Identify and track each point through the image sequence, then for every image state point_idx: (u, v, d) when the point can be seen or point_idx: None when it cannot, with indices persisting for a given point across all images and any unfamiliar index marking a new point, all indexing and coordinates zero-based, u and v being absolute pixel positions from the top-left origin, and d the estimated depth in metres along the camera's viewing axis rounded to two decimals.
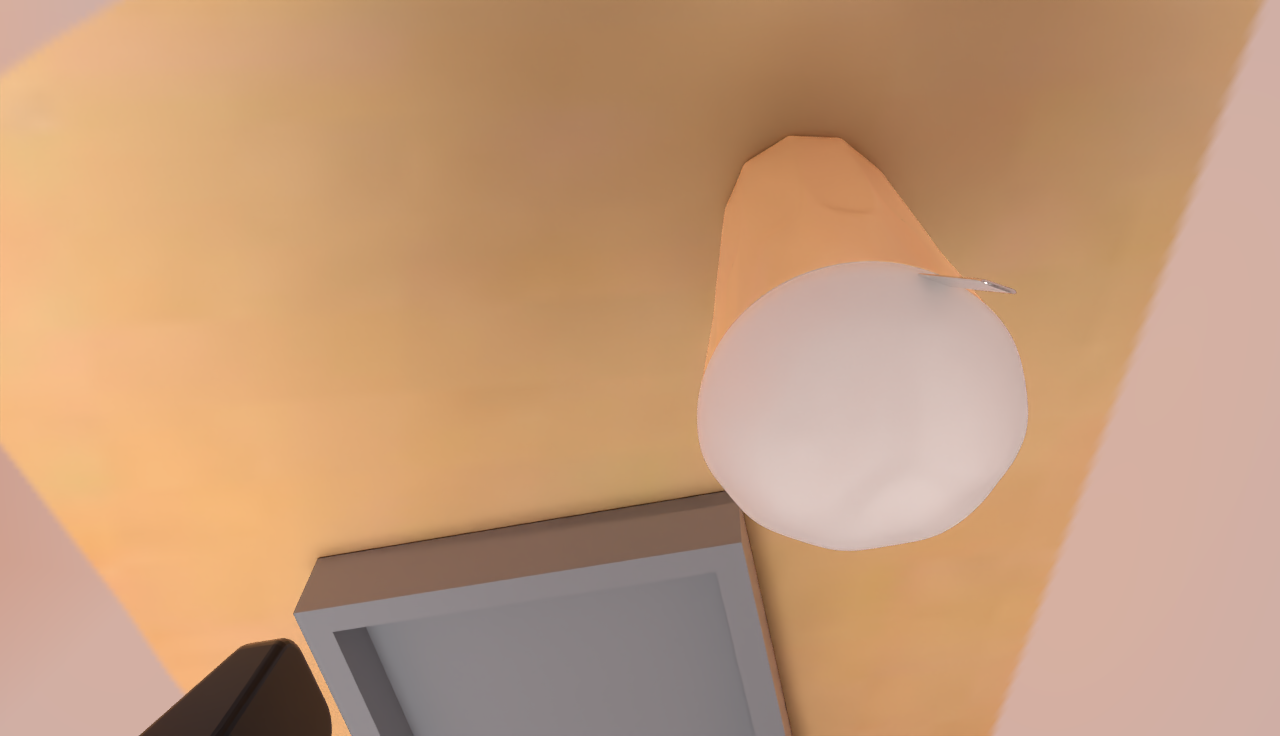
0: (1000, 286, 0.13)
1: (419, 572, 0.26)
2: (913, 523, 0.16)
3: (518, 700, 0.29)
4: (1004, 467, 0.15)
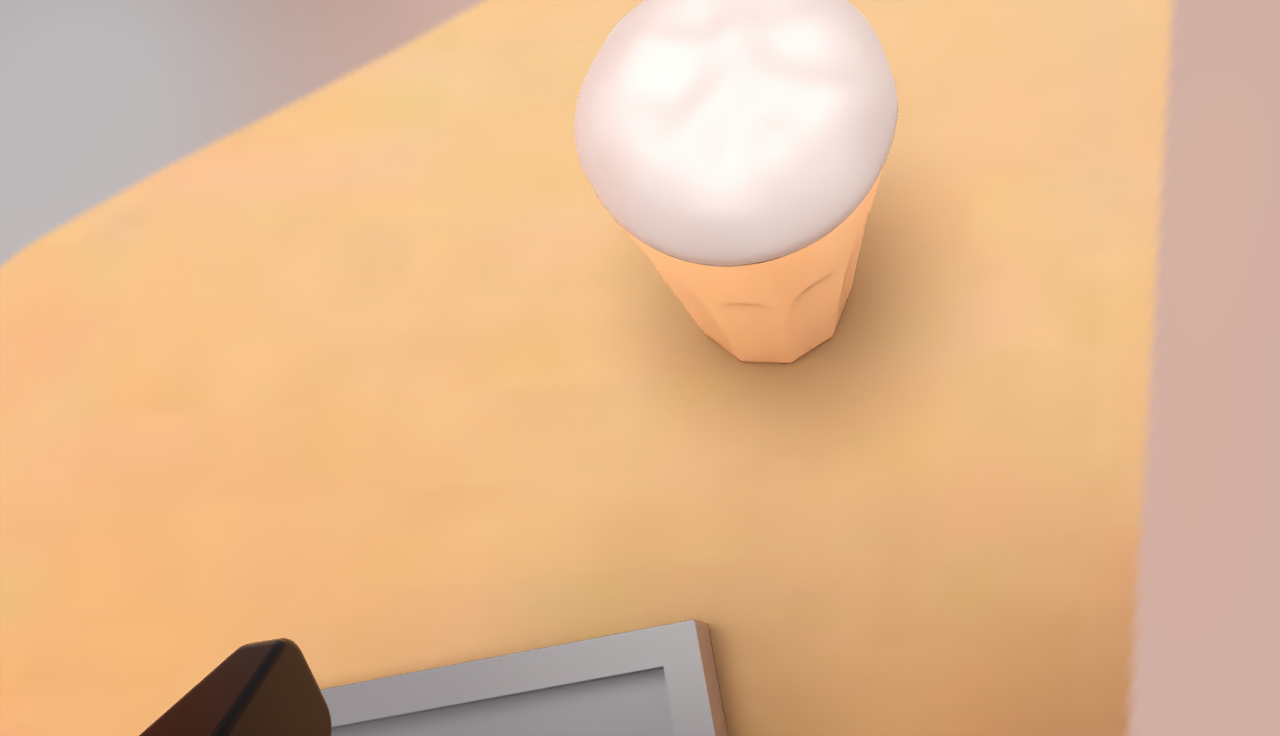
0: None
1: None
2: (775, 152, 0.15)
3: None
4: (867, 103, 0.15)
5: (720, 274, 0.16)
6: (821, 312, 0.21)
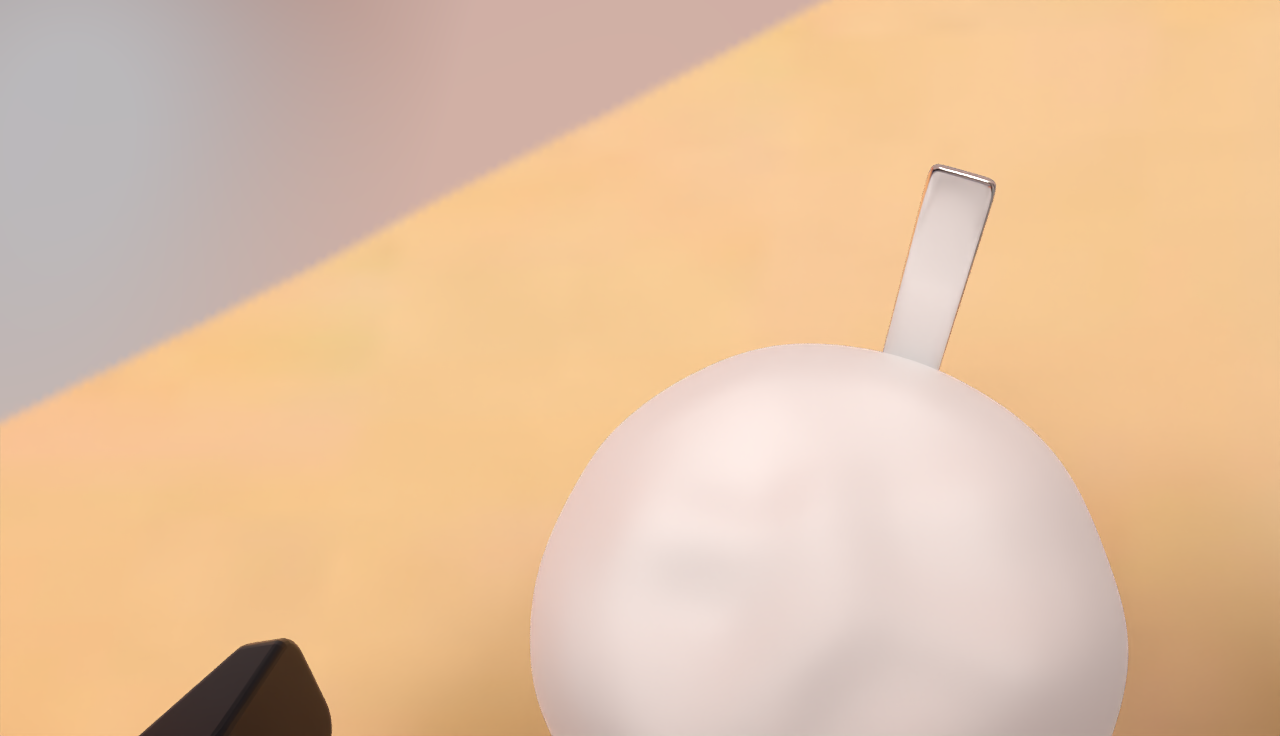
0: None
1: None
2: None
3: None
4: (1087, 678, 0.08)
5: None
6: None
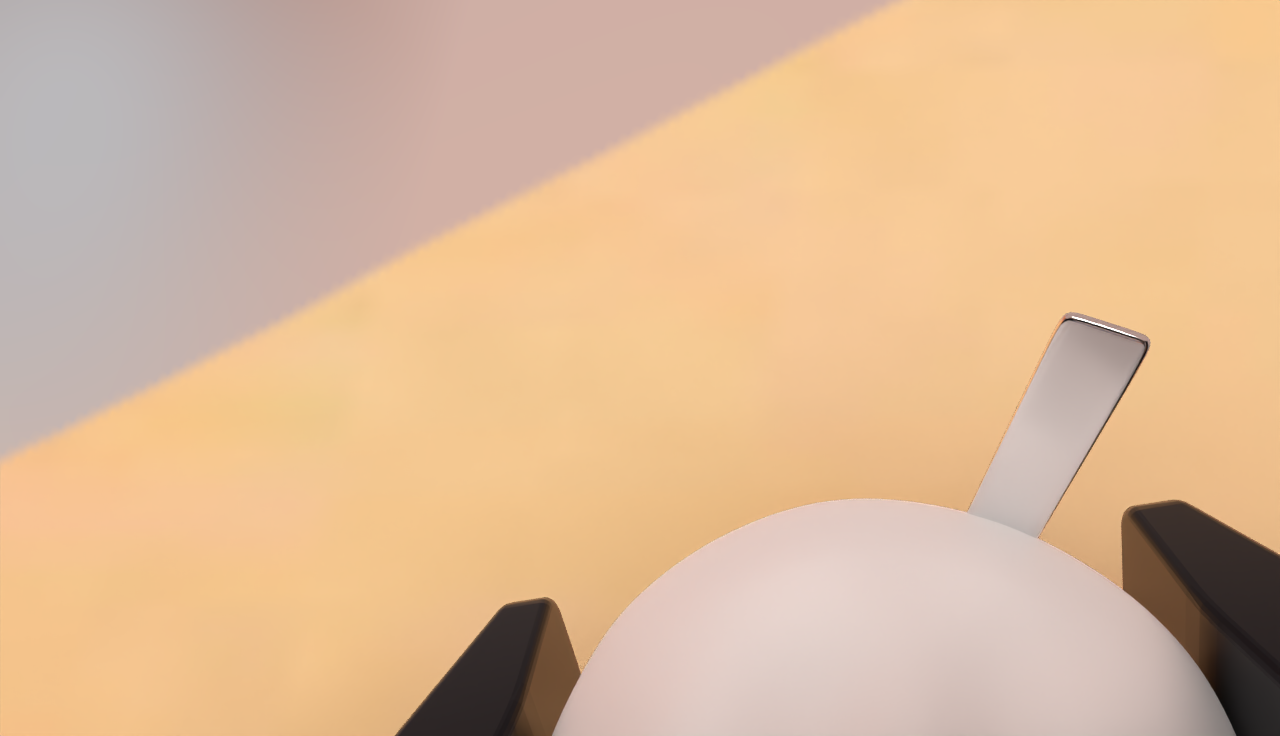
0: None
1: None
2: None
3: None
4: None
5: None
6: None
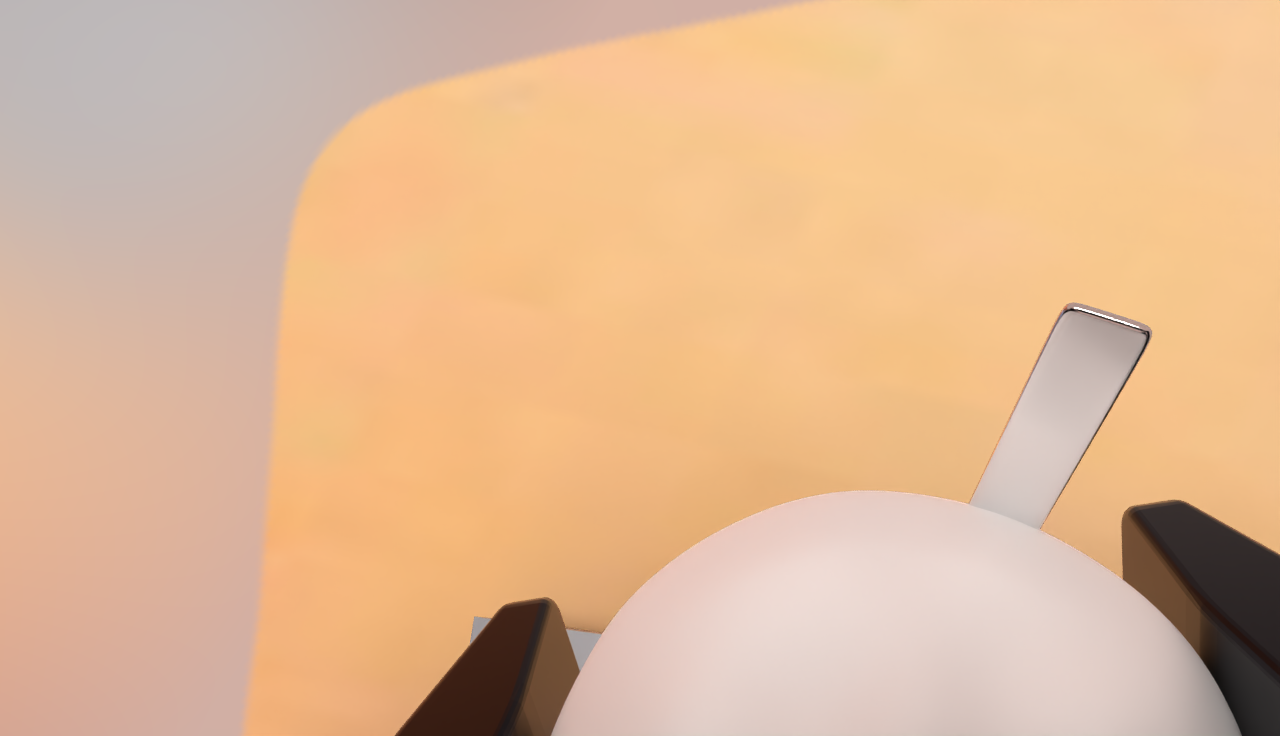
0: None
1: None
2: None
3: None
4: None
5: None
6: None
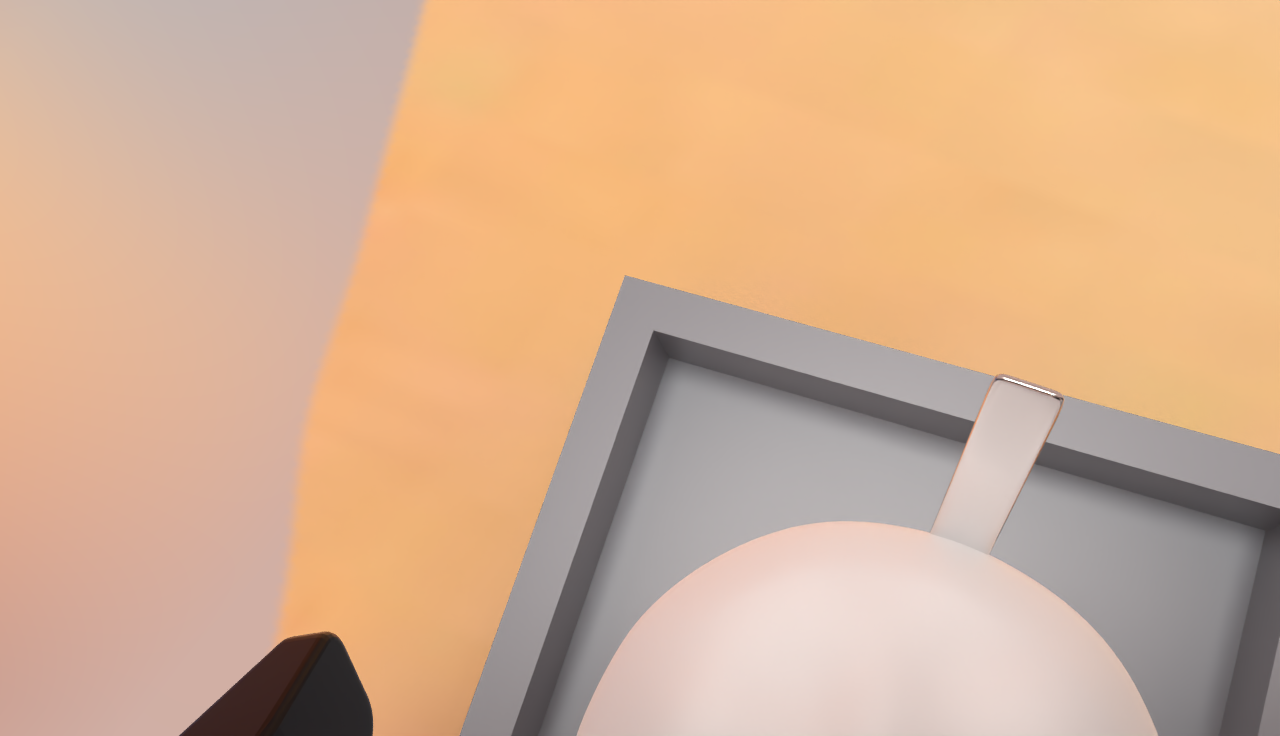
0: None
1: None
2: None
3: None
4: None
5: None
6: None
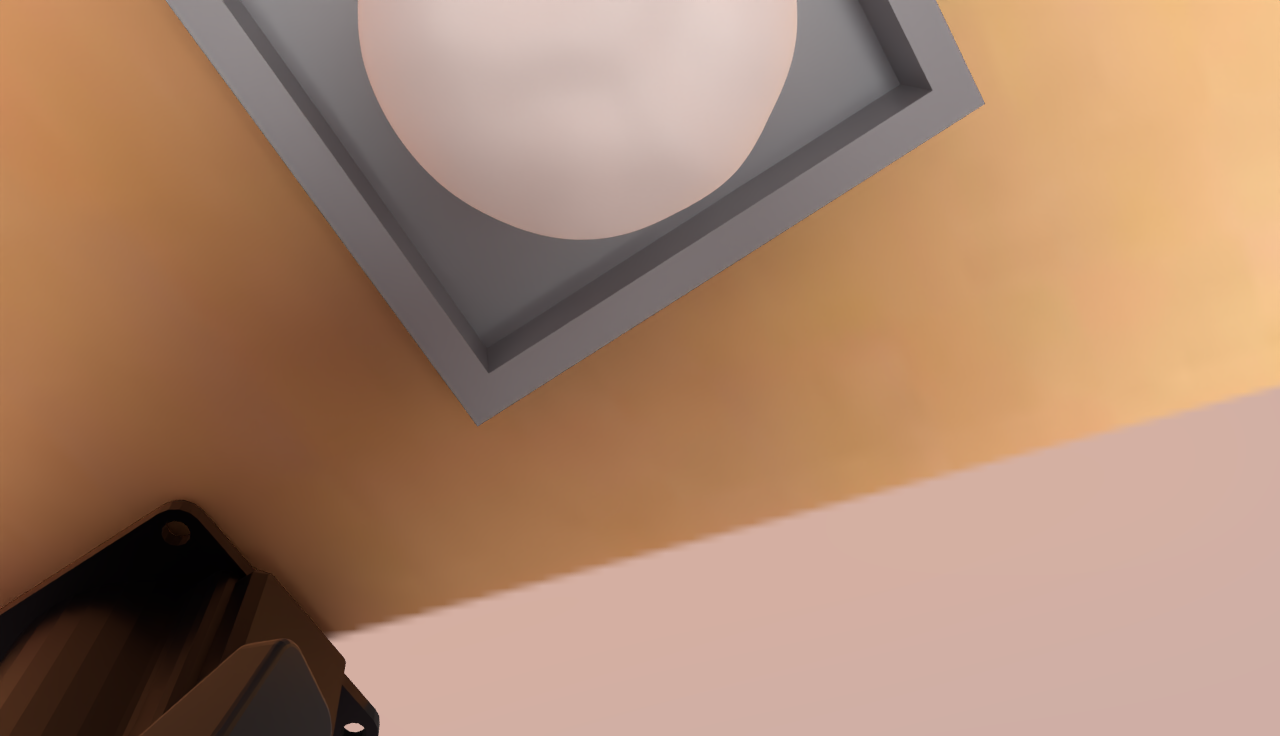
0: None
1: None
2: (569, 159, 0.11)
3: None
4: (702, 174, 0.12)
5: None
6: None
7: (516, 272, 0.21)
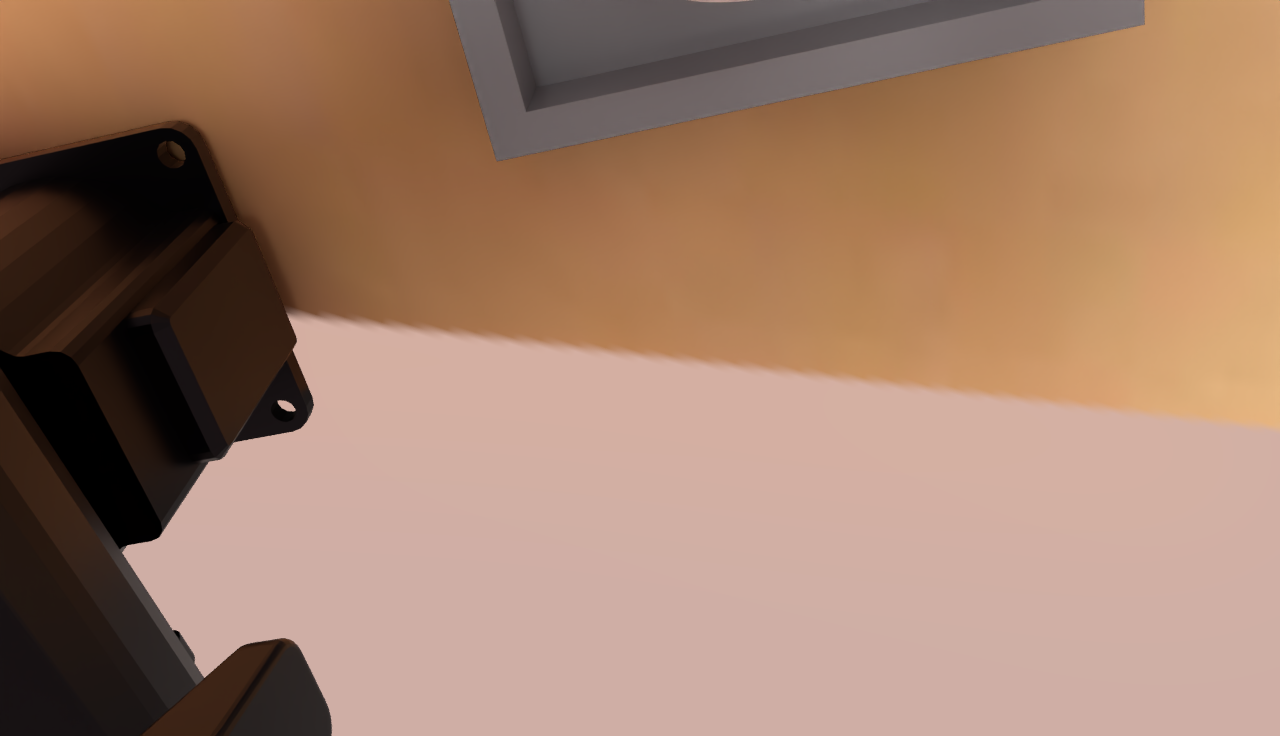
0: None
1: None
2: None
3: None
4: None
5: None
6: None
7: (593, 19, 0.19)
